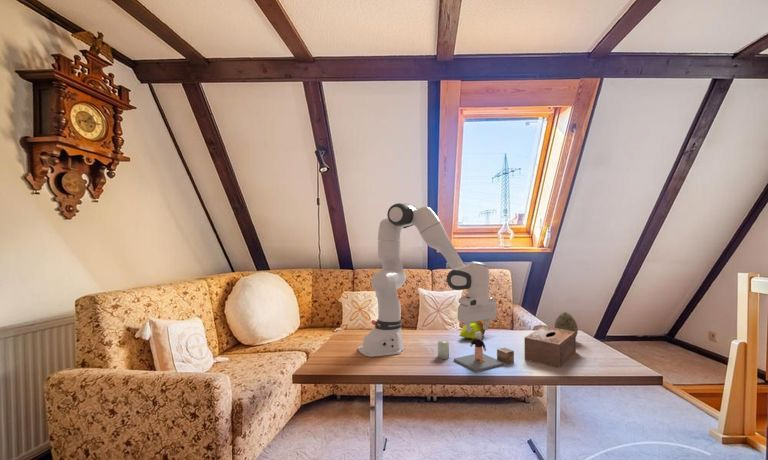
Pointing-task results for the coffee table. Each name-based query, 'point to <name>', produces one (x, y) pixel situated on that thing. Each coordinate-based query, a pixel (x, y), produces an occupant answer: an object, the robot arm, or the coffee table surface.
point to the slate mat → (476, 365)
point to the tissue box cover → (550, 346)
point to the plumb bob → (473, 329)
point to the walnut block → (505, 355)
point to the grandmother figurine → (478, 347)
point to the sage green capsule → (443, 349)
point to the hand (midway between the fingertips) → (477, 330)
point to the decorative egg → (566, 322)
